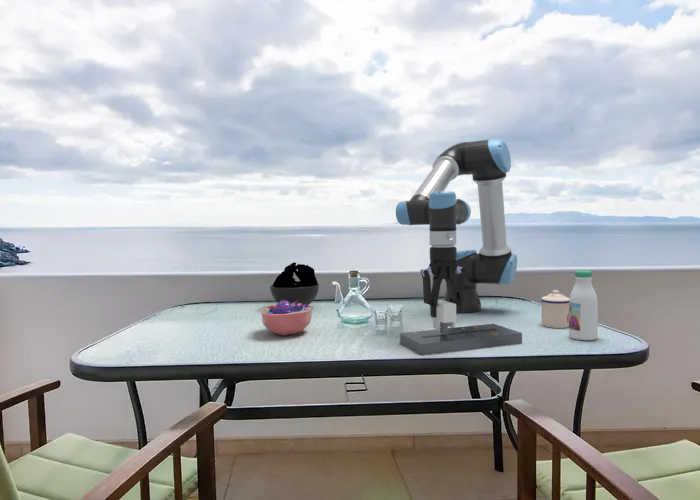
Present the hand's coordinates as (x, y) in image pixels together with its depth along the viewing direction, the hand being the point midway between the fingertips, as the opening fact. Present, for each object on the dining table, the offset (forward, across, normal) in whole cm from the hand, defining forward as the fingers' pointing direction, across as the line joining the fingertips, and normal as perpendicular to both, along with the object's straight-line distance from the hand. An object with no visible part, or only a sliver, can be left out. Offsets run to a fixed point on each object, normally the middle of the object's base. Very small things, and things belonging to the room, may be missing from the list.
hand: (443, 327), depth 145 cm
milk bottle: (+5, +41, -9) cm, 43 cm away
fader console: (+5, +5, 0) cm, 7 cm away
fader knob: (+2, 0, 0) cm, 2 cm away
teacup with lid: (+5, +46, +9) cm, 47 cm away
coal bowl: (+5, -27, +76) cm, 81 cm away
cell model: (+5, -39, +34) cm, 52 cm away
